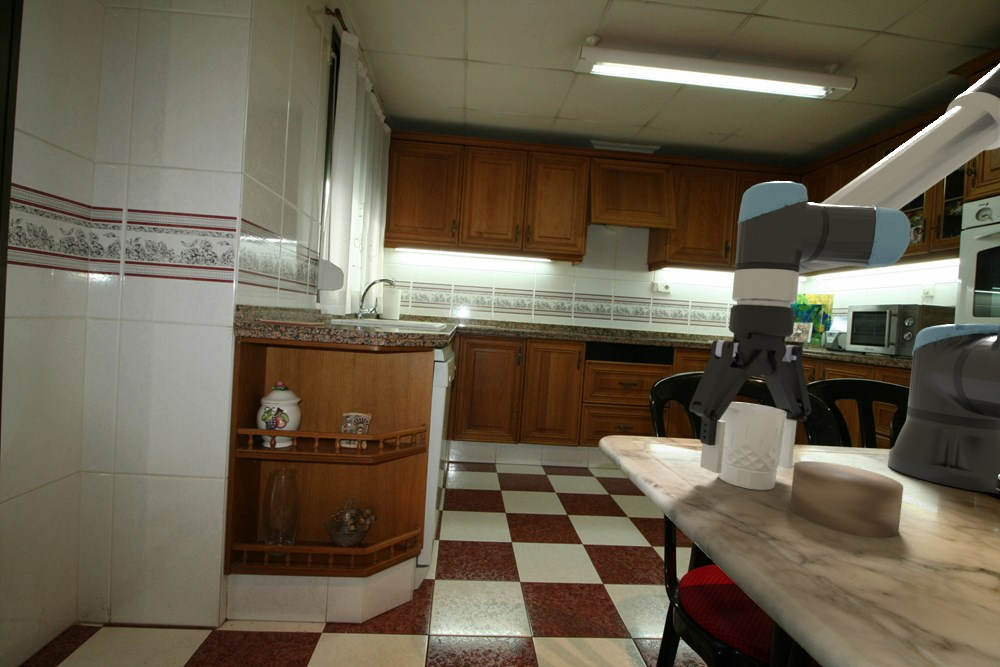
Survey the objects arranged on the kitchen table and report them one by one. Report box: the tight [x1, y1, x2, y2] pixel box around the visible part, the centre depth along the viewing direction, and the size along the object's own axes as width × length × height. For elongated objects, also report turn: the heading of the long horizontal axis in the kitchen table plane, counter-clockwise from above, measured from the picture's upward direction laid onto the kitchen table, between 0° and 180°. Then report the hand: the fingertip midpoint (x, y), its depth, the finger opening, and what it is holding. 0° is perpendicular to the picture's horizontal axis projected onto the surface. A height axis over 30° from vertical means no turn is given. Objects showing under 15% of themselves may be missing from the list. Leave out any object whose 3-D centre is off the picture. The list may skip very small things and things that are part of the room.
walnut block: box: [789, 460, 904, 539], centre depth 56 cm, size 10×10×5 cm
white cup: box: [717, 401, 787, 491], centre depth 67 cm, size 8×8×10 cm
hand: (746, 467), depth 67 cm, fingers open, 12 cm apart
